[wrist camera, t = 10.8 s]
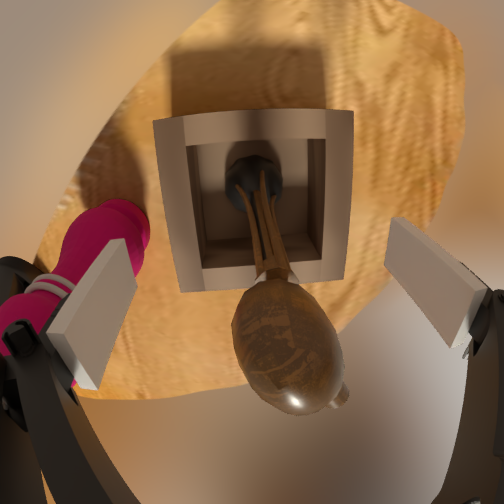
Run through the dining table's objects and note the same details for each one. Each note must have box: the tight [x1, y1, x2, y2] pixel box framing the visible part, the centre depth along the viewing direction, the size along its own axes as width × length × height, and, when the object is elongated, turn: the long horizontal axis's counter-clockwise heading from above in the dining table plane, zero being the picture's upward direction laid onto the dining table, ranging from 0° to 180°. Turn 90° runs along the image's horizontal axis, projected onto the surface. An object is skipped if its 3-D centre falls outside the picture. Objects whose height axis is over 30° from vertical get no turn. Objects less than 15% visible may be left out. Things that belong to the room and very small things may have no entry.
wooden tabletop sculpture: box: [225, 155, 349, 416], centre depth 15 cm, size 6×5×20 cm
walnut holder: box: [153, 108, 354, 293], centre depth 22 cm, size 13×13×6 cm
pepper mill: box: [0, 199, 150, 387], centre depth 17 cm, size 7×7×20 cm
